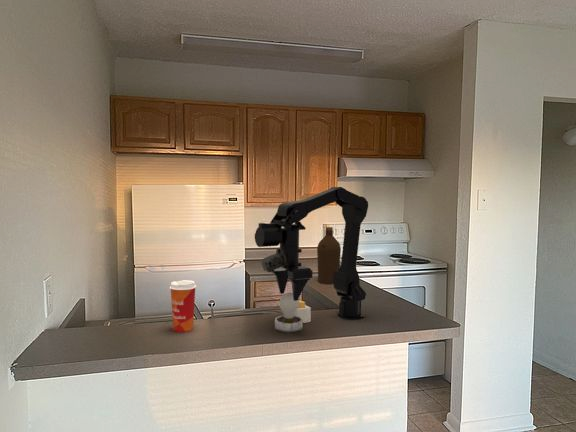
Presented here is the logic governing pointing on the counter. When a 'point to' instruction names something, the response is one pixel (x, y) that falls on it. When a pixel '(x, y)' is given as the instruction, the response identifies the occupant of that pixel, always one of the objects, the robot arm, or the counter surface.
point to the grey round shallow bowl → (288, 324)
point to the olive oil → (328, 257)
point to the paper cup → (183, 305)
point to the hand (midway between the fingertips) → (288, 297)
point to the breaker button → (301, 304)
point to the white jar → (304, 314)
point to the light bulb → (288, 307)
